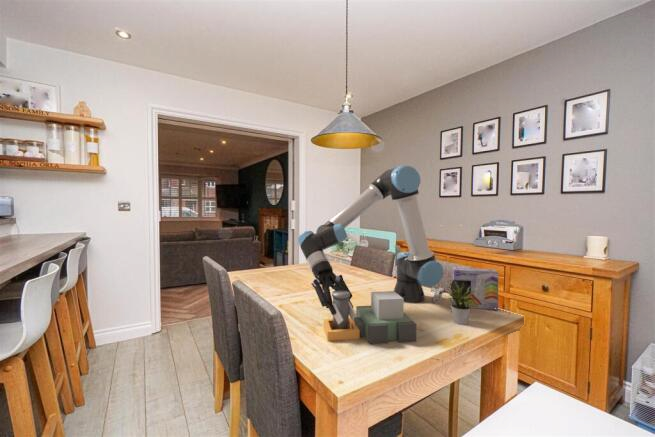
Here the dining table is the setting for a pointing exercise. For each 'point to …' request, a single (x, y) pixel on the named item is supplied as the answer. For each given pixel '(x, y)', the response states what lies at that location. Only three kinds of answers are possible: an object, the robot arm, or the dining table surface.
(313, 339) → the dining table surface
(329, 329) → the green corner-block plate
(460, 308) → the house plant
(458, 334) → the dining table surface
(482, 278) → the cake pan box
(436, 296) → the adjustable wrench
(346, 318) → the grey flared cylinder
